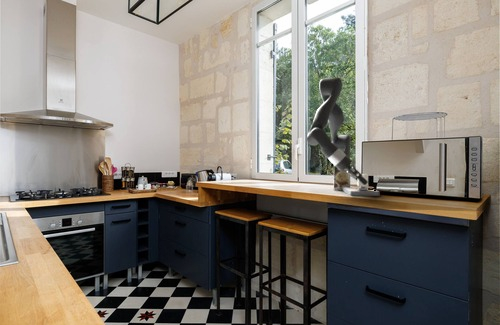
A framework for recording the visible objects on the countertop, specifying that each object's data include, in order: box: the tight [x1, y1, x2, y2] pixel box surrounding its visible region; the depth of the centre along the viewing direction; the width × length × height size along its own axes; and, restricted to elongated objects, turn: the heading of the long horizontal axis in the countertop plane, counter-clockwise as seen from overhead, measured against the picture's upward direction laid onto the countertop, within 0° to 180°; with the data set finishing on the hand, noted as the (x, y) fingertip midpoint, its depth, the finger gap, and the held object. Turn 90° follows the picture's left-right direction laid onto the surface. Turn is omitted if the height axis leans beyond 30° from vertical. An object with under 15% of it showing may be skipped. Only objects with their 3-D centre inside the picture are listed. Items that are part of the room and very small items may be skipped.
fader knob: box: [356, 173, 369, 190], centre depth 136 cm, size 4×4×8 cm
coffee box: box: [333, 164, 351, 191], centre depth 160 cm, size 9×6×16 cm
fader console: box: [342, 187, 380, 197], centre depth 142 cm, size 21×13×2 cm, turn 171°
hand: (364, 183), depth 136 cm, fingers open, 8 cm apart
